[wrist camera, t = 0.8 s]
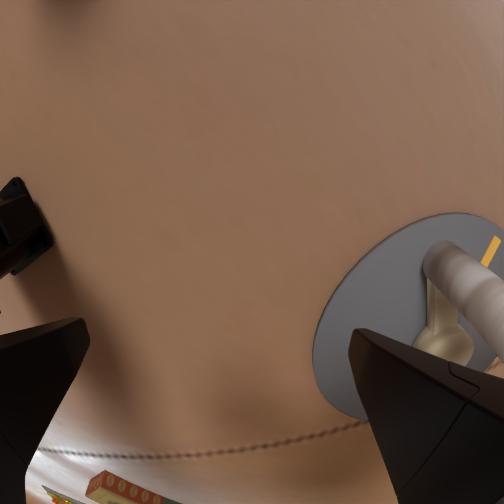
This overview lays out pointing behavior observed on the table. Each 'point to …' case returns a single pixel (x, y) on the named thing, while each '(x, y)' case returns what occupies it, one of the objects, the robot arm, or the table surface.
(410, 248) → the dial plate
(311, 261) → the table surface
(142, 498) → the carton
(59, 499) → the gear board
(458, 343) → the crank handle
